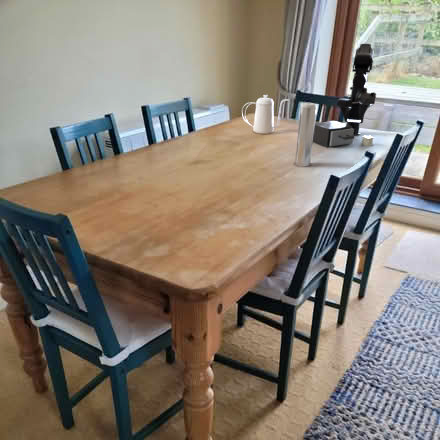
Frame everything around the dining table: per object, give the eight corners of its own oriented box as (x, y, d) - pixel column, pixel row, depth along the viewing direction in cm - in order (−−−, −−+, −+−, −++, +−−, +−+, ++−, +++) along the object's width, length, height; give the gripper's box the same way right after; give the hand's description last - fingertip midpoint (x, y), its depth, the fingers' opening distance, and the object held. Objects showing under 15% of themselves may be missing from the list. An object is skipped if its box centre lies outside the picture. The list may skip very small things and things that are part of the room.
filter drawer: (358, 145, 222) (361, 131, 219) (337, 148, 217) (339, 134, 213) (335, 137, 235) (337, 123, 232) (314, 140, 230) (316, 126, 226)
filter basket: (358, 144, 228) (360, 136, 226) (367, 142, 230) (368, 135, 228) (366, 146, 224) (368, 138, 222) (374, 145, 226) (376, 137, 224)
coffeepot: (287, 135, 242) (290, 97, 232) (240, 133, 244) (241, 96, 234) (286, 130, 251) (290, 93, 241) (241, 128, 253) (243, 92, 243)
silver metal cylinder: (309, 167, 195) (316, 105, 182) (294, 166, 196) (300, 104, 183) (310, 162, 201) (317, 102, 187) (295, 161, 202) (301, 101, 188)
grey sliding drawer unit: (349, 143, 228) (352, 126, 224) (326, 147, 222) (329, 129, 218) (331, 137, 238) (334, 120, 234) (309, 140, 233) (311, 123, 228)
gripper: (356, 89, 198) (350, 126, 206) (386, 86, 206) (380, 122, 214) (338, 85, 206) (333, 121, 214) (368, 83, 214) (362, 117, 222)
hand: (353, 120), depth 216 cm, fingers open, 9 cm apart
